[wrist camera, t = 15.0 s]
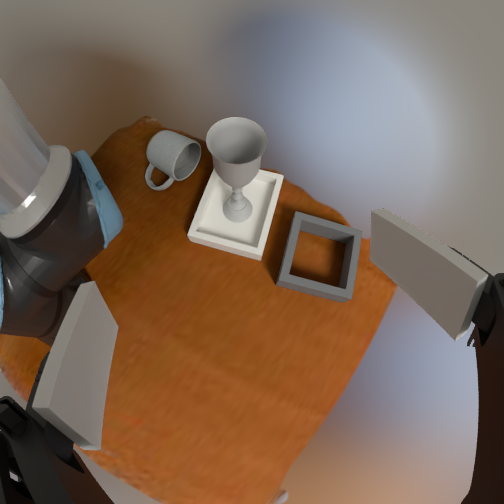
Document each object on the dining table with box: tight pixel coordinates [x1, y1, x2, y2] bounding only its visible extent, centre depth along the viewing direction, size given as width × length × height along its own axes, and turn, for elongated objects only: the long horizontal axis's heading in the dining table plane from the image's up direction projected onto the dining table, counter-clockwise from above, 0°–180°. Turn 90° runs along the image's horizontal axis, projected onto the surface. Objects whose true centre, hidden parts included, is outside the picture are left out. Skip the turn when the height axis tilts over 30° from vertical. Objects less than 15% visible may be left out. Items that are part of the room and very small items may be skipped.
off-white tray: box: [187, 168, 284, 261], centre depth 46 cm, size 12×15×3 cm
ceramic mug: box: [145, 130, 201, 191], centre depth 45 cm, size 11×8×8 cm
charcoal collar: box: [276, 211, 362, 303], centre depth 43 cm, size 11×11×4 cm
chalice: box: [206, 117, 267, 223], centre depth 37 cm, size 7×7×18 cm
